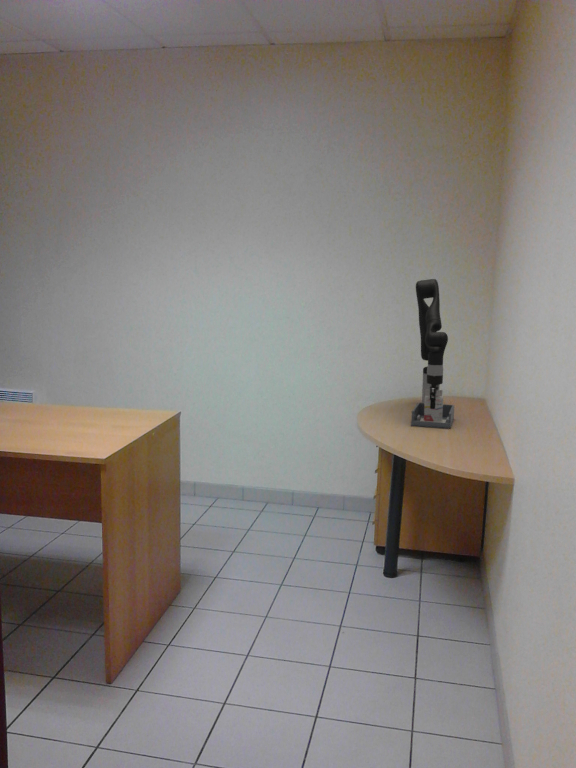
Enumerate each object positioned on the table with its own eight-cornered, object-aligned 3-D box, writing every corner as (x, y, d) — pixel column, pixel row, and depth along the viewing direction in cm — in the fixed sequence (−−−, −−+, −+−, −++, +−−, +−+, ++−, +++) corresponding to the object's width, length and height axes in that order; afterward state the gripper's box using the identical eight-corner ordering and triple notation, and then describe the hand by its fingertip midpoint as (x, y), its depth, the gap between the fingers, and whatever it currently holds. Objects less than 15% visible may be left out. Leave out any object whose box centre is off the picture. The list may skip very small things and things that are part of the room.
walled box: (417, 416, 327) (417, 402, 326) (453, 418, 321) (454, 405, 320) (411, 426, 306) (411, 411, 305) (450, 428, 301) (450, 414, 300)
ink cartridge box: (424, 421, 312) (425, 391, 310) (423, 418, 317) (424, 389, 314) (442, 421, 311) (443, 391, 308) (441, 419, 316) (442, 389, 313)
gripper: (428, 371, 318) (427, 403, 320) (425, 375, 304) (423, 409, 307) (444, 371, 315) (442, 404, 318) (441, 376, 302) (440, 410, 305)
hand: (433, 406), depth 313 cm, fingers open, 8 cm apart
